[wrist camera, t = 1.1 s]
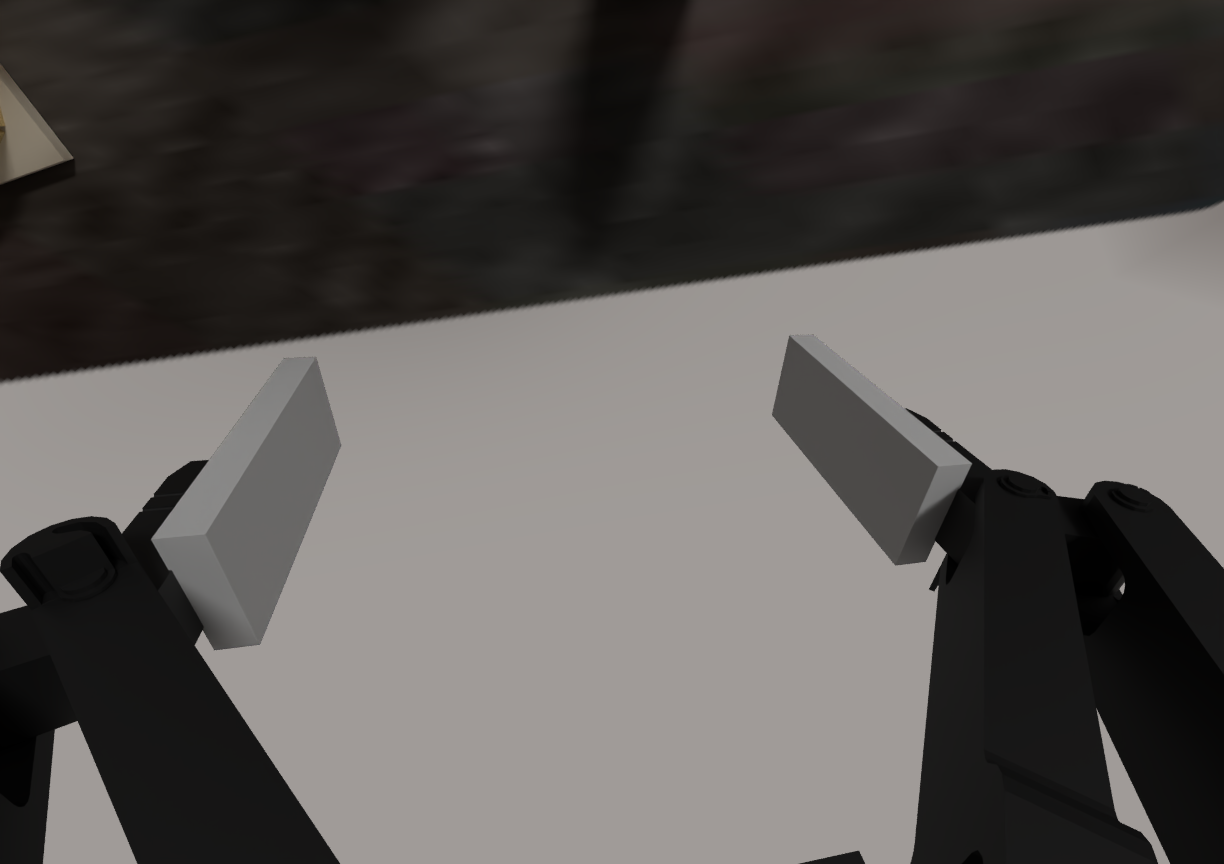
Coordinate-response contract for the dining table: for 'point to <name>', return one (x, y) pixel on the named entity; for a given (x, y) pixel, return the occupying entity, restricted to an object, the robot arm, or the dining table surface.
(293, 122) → the dining table surface
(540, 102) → the dining table surface
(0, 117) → the brass collar
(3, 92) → the oak plate
